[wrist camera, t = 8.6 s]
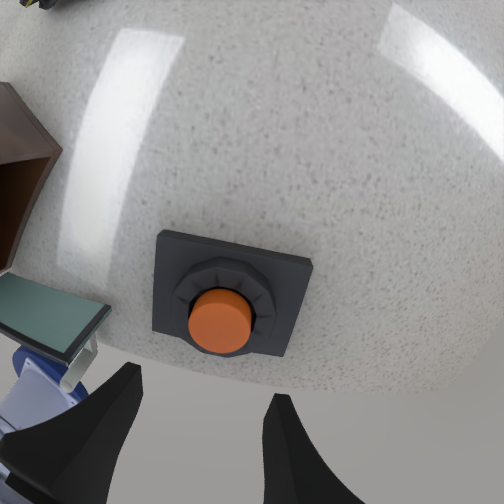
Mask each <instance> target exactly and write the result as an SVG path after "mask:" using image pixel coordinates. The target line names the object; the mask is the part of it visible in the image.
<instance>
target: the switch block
mask: <svg viewBox="0 0 504 504" xmlns="http://www.w3.org/2000/svg"><path fill="white" fill-rule="evenodd" d="M312 270H313V265H312V262H311V260H310V259H307V258H302V257H297V256H293V255H288V254H283V253H278V252H273V251H268V250H263V249H258V248H253V247H248V246H244V245H239V244H234V243H229V242H224V241H219V240H214V239H209V238H204V237H199V236H194V235H189V234H184V233H179V232H174V231H169V230H162V231H161V232H160V233H159V234H158V235H157V243H156V255H155V269H154V287H153V316H152V330H153V331H156V332H159V333H163V334H167V335H171V336H175V337H179V338H182V339H183V340H185V341H186V342H187V343H189V344H190V345H192V346H193V347H195V348H196V349H197V350H199V351H200V352H203V353H206V354H211V355H216V356H221V357H226V358H227V357H228V358H229V357H234V356H239V355H243V354H248V353H251V352H253V353H259V354H266V355H272V356H279V357H283V356H284V353H285V350H286V348H287V345H288V342H289V339H290V336H291V334H292V331H293V328H294V325H295V322H296V319H297V316H298V313H299V310H300V307H301V304H302V301H303V298H304V295H305V292H306V289H307V286H308V283H309V279H310V276H311V273H312ZM214 289H227V290H231V291H233V292H235V293H237V294H239V295H240V296H242V297H243V298H244V299H245V300H246V302H247V303H248V305H249V307H250V310H251V331H250V336H249V339H248V341H247V342H246V343H245V344H244V345H243V346H242V347H241V348H240V349H238V350H236V351H233V352H229V353H216V352H212V351H209V350H206V349H204V348H203V347H201V346H200V345H198V344H197V343H196V342H195V341H194V339H193V338H192V336H191V334H190V332H189V327H188V322H189V318H190V315H191V313H192V310H193V308H194V305H195V303H196V301H197V299H198V298H199V297H200V296H201V295H202V294H204V293H205V292H207V291H210V290H214Z"/></svg>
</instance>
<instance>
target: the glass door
mask: <svg viewBox="0 0 504 504" xmlns="http://www.w3.org/2000/svg"><path fill="white" fill-rule="evenodd" d="M111 311H112V308H111V306H110V305H107V304H102V303H98V302H95V301H91V300H88V299H85V298H81V297H78V296H75V295H72V294H69V293H65V292H62V291H59V290H56V289H53V288H50V287H47V286H45V285H42V284H39V283H36V282H33V281H31V280H28V279H25V278H22V277H20V276H17V275H15V274H12V273H10V272H7V273H5V274H4V275H2V276H1V277H0V333H2V334H4V335H5V336H7V337H9V338H10V339H12V340H14V341H16V342H18V343H20V344H21V345H23V346H25V347H27V348H29V349H31V350H33V351H35V352H37V353H39V354H41V355H43V356H45V357H47V358H49V359H51V360H53V361H56V362H58V363H60V364H62V365H65V366H67V367H68V366H69V365H70V363H71V362H72V361H73V359H74V358H75V357H76V355H77V354H78V353H79V351H80V350H81V349H82V348H83V350H82V352H81V353H80V355H79V356H78V357H77V358H76V360H75V361H74V363H73V364H72V365H71V366H70V368H69V369H68V371H67V372H66V373H65V375H64V376H63V377H62V379H61V380H60V388H61V390H62V391H63V392H65V393H71V392H72V391H73V390H74V388H75V387H76V385H77V384H78V382H79V381H80V379H81V378H82V376H83V375H84V373H85V372H86V370H87V368H88V367H89V366H90V364H91V363H92V361H93V360H94V358H95V357H96V355H97V352H98V351H97V342H96V336H95V331H96V330H97V328H98V327H99V326H100V325H101V323H102V322H103V321H104V320H105V318H106V317H107V316H108V315H109V313H110V312H111Z"/></svg>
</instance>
